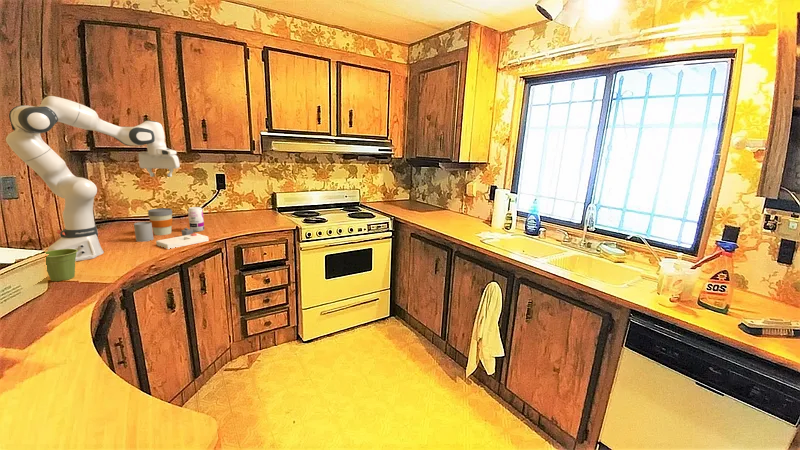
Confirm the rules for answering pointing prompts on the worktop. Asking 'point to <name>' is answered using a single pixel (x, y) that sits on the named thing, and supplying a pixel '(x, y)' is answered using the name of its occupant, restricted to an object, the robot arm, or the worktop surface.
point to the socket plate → (182, 240)
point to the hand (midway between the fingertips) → (161, 176)
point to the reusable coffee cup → (161, 220)
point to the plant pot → (61, 264)
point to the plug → (187, 232)
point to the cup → (143, 231)
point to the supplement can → (196, 219)
